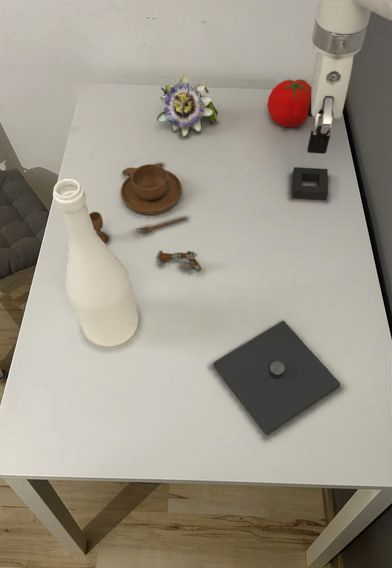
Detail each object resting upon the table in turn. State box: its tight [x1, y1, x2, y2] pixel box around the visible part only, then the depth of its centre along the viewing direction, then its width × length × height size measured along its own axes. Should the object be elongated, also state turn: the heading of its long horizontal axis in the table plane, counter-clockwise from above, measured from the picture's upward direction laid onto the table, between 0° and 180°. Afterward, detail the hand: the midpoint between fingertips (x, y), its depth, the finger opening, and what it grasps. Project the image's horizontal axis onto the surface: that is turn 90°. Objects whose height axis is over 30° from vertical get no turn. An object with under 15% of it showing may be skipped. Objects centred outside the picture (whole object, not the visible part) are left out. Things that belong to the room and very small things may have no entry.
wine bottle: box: [52, 178, 140, 348], centre depth 71 cm, size 10×10×30 cm
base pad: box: [213, 319, 341, 436], centre depth 77 cm, size 14×14×3 cm
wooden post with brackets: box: [155, 249, 202, 272], centre depth 89 cm, size 2×8×4 cm, turn 69°
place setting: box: [89, 162, 186, 244], centre depth 96 cm, size 18×20×6 cm
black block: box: [291, 166, 329, 201], centre depth 98 cm, size 7×7×2 cm
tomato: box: [266, 78, 312, 128], centre depth 106 cm, size 9×10×8 cm
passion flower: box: [156, 74, 219, 138], centre depth 107 cm, size 11×11×12 cm
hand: (316, 133), depth 89 cm, fingers open, 9 cm apart
